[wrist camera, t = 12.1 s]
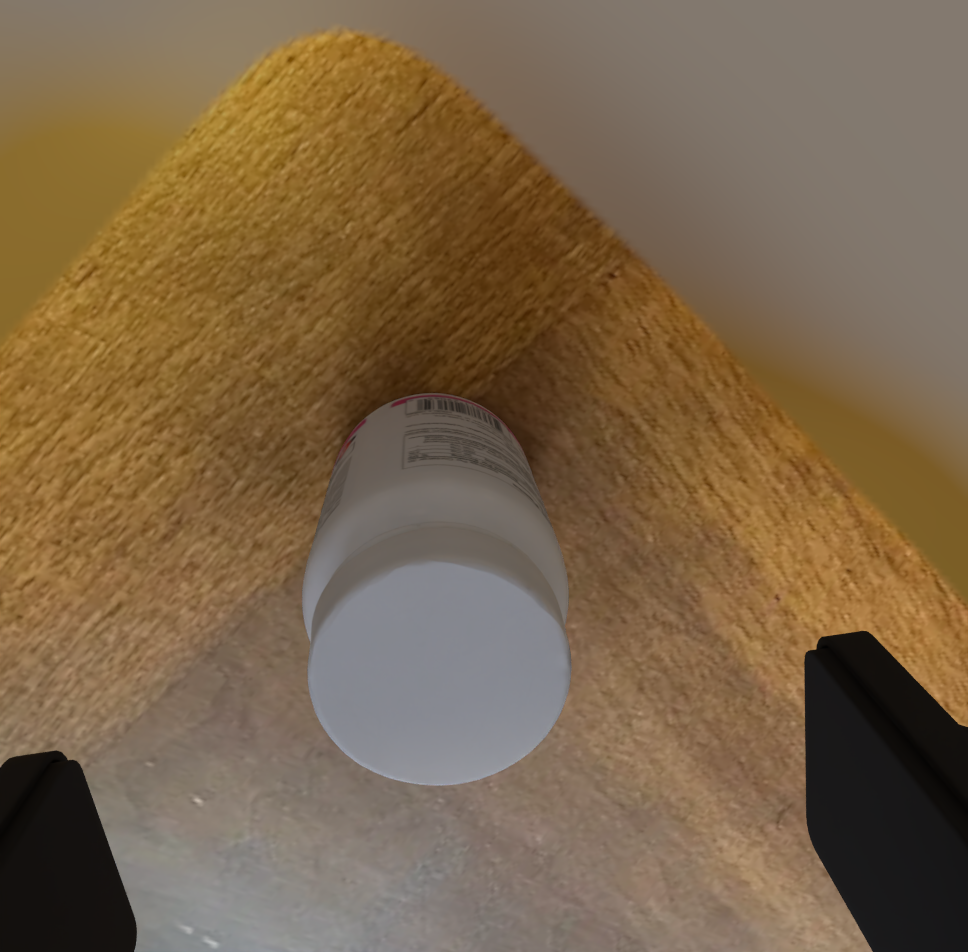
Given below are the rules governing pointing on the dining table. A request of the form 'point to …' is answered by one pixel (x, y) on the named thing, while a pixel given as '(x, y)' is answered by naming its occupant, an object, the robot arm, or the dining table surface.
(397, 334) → the dining table surface
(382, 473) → the pill bottle
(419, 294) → the dining table surface
